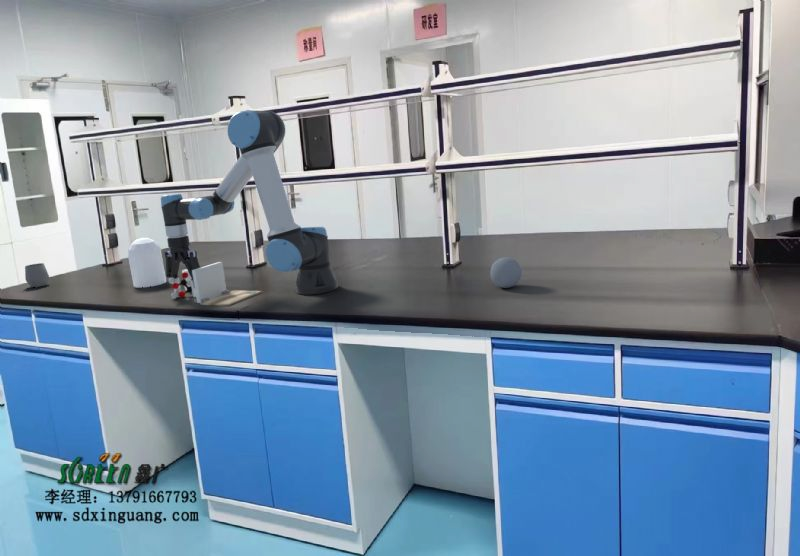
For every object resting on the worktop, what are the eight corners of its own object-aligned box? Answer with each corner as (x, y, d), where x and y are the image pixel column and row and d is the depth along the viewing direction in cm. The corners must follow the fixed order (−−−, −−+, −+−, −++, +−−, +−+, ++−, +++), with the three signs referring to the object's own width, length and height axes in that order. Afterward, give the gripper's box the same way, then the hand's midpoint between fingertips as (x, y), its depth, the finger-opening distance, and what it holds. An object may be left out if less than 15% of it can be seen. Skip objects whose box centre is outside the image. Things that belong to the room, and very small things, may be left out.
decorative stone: (488, 291, 199) (486, 261, 197) (495, 283, 208) (493, 254, 206) (519, 291, 195) (517, 260, 193) (524, 283, 204) (523, 254, 202)
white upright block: (204, 287, 245) (201, 268, 244) (193, 291, 240) (190, 271, 238) (192, 287, 248) (189, 268, 246) (181, 291, 243) (178, 271, 241)
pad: (261, 292, 227) (261, 290, 227) (229, 305, 211) (228, 304, 211) (234, 291, 233) (233, 290, 232) (200, 304, 217) (200, 302, 217)
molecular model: (193, 302, 238) (197, 277, 240) (207, 302, 234) (211, 277, 236) (159, 295, 225) (164, 269, 227) (174, 295, 221) (178, 268, 223)
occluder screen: (230, 293, 231) (225, 261, 228) (204, 303, 219) (198, 270, 216) (220, 292, 233) (215, 261, 230) (193, 302, 221) (188, 270, 218)
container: (155, 279, 273) (147, 234, 269) (173, 281, 265) (165, 235, 261) (127, 286, 262) (118, 240, 258) (145, 288, 255) (136, 241, 250)
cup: (42, 283, 289) (37, 262, 287) (55, 283, 285) (50, 262, 282) (22, 288, 280) (18, 267, 278) (35, 289, 276) (30, 267, 274)
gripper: (206, 234, 225) (215, 294, 230) (164, 234, 234) (174, 292, 239) (191, 237, 218) (201, 299, 223) (148, 238, 227) (159, 297, 232)
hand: (187, 295), depth 231 cm, fingers closed on molecular model, 8 cm apart
